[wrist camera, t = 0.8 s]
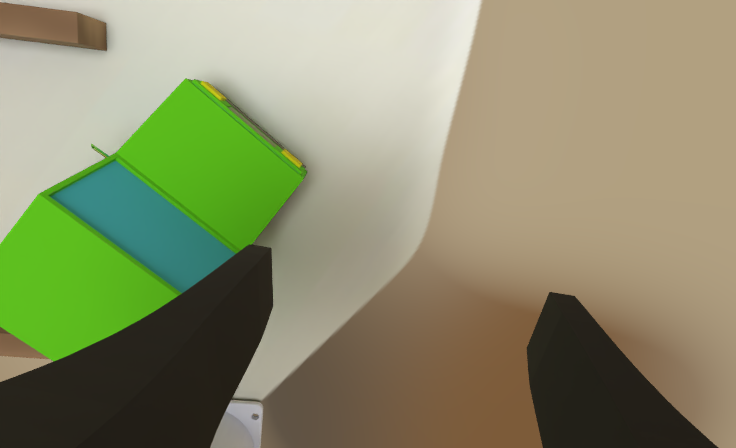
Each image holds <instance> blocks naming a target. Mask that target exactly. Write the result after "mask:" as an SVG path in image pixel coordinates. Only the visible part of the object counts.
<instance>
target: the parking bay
mask: <svg viewBox="0 0 736 448" xmlns="http://www.w3.org/2000/svg"><path fill="white" fill-rule="evenodd" d="M0 38H8V39H16V40H24V41H32V42H40V43H48V44H56V45H64V46H72V47H81V48H89V49H97V50H105V51H107V49H106V23H104V22H101V21H99V20H96V19H93V18H91V17H88V16H85V15H83V14H80V13H78V12H71V11H63V10H55V9H48V8H40V7H32V6H25V5H17V4H9V3H1V2H0ZM0 356H12V357H26V358H40V359H49V358H48V357H46V356H45V355H43V354H41V353H40V352H38V351H37V350H35V349H34V348H32V347H31V346H29V345H28V344H26V343H25V342H23V341H21V340H20V339H18V338H17V337H15V336H14V335H12V334H11V333H9V332H8V331H6V330H5V329H3V328H2V327H0Z"/></svg>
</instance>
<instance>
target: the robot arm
mask: <svg viewBox="0 0 736 448" xmlns="http://www.w3.org/2000/svg"><path fill="white" fill-rule="evenodd" d="M272 308H273V285H272V254H271V248H269V247H263V246H257V245H250V244H249V245H247V246H246V247H245V248H243V249H242V250H240V251H239V252H238V253H236V254H235V255H234V256H232V257H231V258H230V259H228V260H227V261H226V262H224V263H223V264H222V265H220V266H219V267H218V268H216V269H215V270H214V271H213V272H211V273H210V274H208V275H207V276H206V277H204V278H203V279H202V280H200V281H199V282H197V283H196V284H195V285H193V286H192V287H190V288H189V289H188V290H186V291H185V292H183V293H182V294H180V295H179V296H177V297H176V298H174V299H173V300H171V301H170V302H168V303H166V304H165V305H163V306H162V307H160V308H159V309H157V310H156V311H154V312H152V313H151V314H149V315H147V316H146V317H144V318H142V319H140V320H139V321H137V322H135V323H133V324H131V325H129V326H128V327H126V328H124V329H122V330H120V331H118V332H116V333H115V334H113V335H111V336H109V337H107V338H104V339H102V340H100V341H98V342H96V343H94V344H92V345H89V346H87V347H85V348H83V349H81V350H79V351H77V352H75V353H72V354H70V355H68V356H66V357H63V358H61V359H59V360H56V361H54V362H52V363H49V364H47V365H44V366H42V367H39V368H37V369H34V370H32V371H29V372H26V373H24V374H21V375H18V376H16V377H13V378H10V379H8V380H5V381H2V382H0V448H261V436H262V422H263V405H262V404H261V403H260V402H256V401H240V400H231V399H232V397H233V395H234V393H235V391H236V389H237V387H238V385H239V383H240V381H241V379H242V377H243V376H244V374H245V372H246V370H247V368H248V366H249V364H250V362H251V360H252V357H253V355H254V353H255V351H256V349H257V347H258V345H259V343H260V341H261V339H262V336H263V334H264V331H265V328H266V325H267V322H268V319H269V317H270V314H271V311H272ZM527 359H528V372H529V382H530V389H531V394H532V399H533V403H534V408H535V413H536V418H537V422H538V427H539V431H540V436H541V440H542V445H543V448H718V447H717V446H716V445H714V444H713V443H712V442H711V441H710V440H709V439H708V438H707V437H706V436H704V435H703V434H702V433H701V432H700V431H699V430H698V429H697V428H695V426H693V425H692V424H691V423H690V422H689V421H688V420H687V419H686V418H685V417H684V416H683V415H681V414H680V413H679V412H678V411H677V410H676V409H675V408H674V407H673V406H672V405H671V404H670V403H669V402H668V401H667V400H666V399H665V398H664V397H663V396H662V395H661V394H660V393H659V392H658V391H657V389H656V388H655V387H654V386H653V385H652V384H651V383H650V382H649V381H648V380H647V379H646V378H645V377H644V376H643V375H642V374H641V373H640V372H639V370H638V369H637V368H636V367H635V366H634V365H633V364H632V363H631V362H630V361H629V359H628V358H627V357H626V356H625V355H624V354H623V353H622V351H621V350H620V349H619V348H618V347H617V346H616V344H615V343H614V342H613V341H612V340H611V339H610V338H609V336H608V335H607V334H606V333H605V332H604V330H603V329H602V328H601V327H600V326H599V324H598V323H597V322H596V321H595V320H594V318H593V317H592V316H591V315H590V314H589V312H588V311H587V310H586V309H585V308H584V306H583V305H582V304H581V303H580V302H579V301H578V299H577V298H576V297H575V296H571V295H565V294H558V293H552V292H550V293H549V295H548V297H547V300H546V302H545V305H544V307H543V309H542V312H541V315H540V317H539V319H538V322H537V324H536V327H535V329H534V332H533V334H532V337H531V339H530V342H529V344H528V346H527ZM253 414H258V415H259V416H257V417H255V416H253Z"/></svg>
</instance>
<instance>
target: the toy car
mask: <svg viewBox="0 0 736 448" xmlns="http://www.w3.org/2000/svg"><path fill="white" fill-rule="evenodd" d="M91 146H92V148H93V149H94V150H95V151H97V152H98V153H100V154H101V155H103V156H104V157H105V159H103V160H102V161H100V162H98V163H96V164H94V165H92V166H90V167H88V168H86V169H85V170H83V171H81V172H79V173H77V174H75V175H73V176H71V177H70V178H68V179H66V180H64V181H62V182H60V183H58V184H56V185H54V186H53V187H51V188H49V189H47V190H45V191H43V192H41V193H39V194H38V195H37V197H36V198H35V199H34V201H33V202H32V203H31V205H30V206H29V207H28V209H27V210H26V211H25V212H24V214H23V215H22V216H21V218H20V219H19V220H18V222H17V223H16V224H15V226H14V227H13V228H12V229H11V231H10V232H9V233H8V235H7V236H6V237H5V239H4V240H3V241H2V243H1V244H0V327H2V328H3V329H5V330H6V331H8V332H9V333H11V334H12V335H14V336H15V337H17V338H18V339H20V340H21V341H23V342H25V343H26V344H28V345H29V346H31V347H32V348H34V349H35V350H37V351H38V352H40V353H41V354H43V355H45V356H46V357H48V358H49V359H51V360H53V361H56V360H59V359H61V358H63V357H66V356H68V355H70V354H72V353H75V352H77V351H79V350H81V349H83V348H85V347H87V346H89V345H92V344H94V343H96V342H98V341H100V340H102V339H104V338H107V337H109V336H111V335H113V334H115V333H116V332H118V331H120V330H122V329H124V328H126V327H128V326H129V325H131V324H133V323H135V322H137V321H139V320H140V319H142V318H144V317H146V316H147V315H149V314H151V313H152V312H154V311H156V310H157V309H159V308H160V307H162V306H163V305H165V304H166V303H168V302H170V301H171V300H173V299H174V298H176V297H177V296H179V295H180V294H182V293H183V292H185V291H186V290H188V289H189V288H190V287H192V286H193V285H195V284H196V283H197V282H199V281H200V280H202V279H203V278H204V277H206V276H207V275H208V274H210V273H211V272H213V271H214V270H215V269H216V268H218V267H219V266H220V265H222V264H223V263H224V262H226V261H227V260H228V259H230V258H231V257H232V256H234V255H235V254H236V253H238V252H239V251H240V250H242V249H243V248H245V247H246V246H247V245H249V244H250V245H252V244H253V242H254V241H255V240H256V239H257V237H258V236H259V235H260V233H261V232H262V231H263V230H264V228H265V227H266V226H267V225H268V223H269V222H270V221H271V220H272V218H273V217H274V216H275V215H276V213H277V212H278V211H279V209H280V208H281V207H282V206H283V204H284V203H285V202H286V201H287V199H288V198H289V197H290V196H291V194H292V193H293V192H294V191H295V189H296V188H297V187H298V185H299V184H300V183H301V182H302V180H303V179H304V177H305V175H306V173H307V171H306V170H305V167H306V166H304V165H303V164H302V163H301V162H300V161H299V160H298V159H297V158H295V157H294V156H293V155H292V154H291V153H290V152H288V151H287V150H286V149H285V148H283V147H282V146H281V145H280V144H279V143H278V142H276V141H275V140H274V139H273V138H272V137H271V136H269V135H268V134H267V133H266V132H265V131H264V130H262V129H261V128H260V127H259V126H258V125H257V124H255V123H254V122H253V121H252V120H251V119H250V118H248V117H247V116H246V115H245V114H244V113H243V112H241V111H240V110H239V109H238V108H237V107H236V106H235V105H233V104H232V103H231V102H230V101H229V100H228V99H227V98H226V97H224V96H223V95H222V94H221V93H220V92H219V91H217V90H216V89H215V88H214V87H213V86H212V85H210V84H209V83H208V82H204V81H199V80H195V79H194V80H190V79H185V80H184V81H183V82H182V83H181V84H180V85H179V86H178V87H177V88H176V89H175V90H174V91H173V92H172V94H171V95H170V96H169V97H168V98H167V99H166V100H165V101H164V102H163V103H162V104H161V105H160V106H159V107H158V108H157V110H156V111H155V112H154V113H153V114H152V115H151V116H150V117H149V118H148V119H147V120H146V121H145V122H144V123H143V125H142V126H141V127H140V128H139V129H138V130H137V131H136V132H135V133H134V134H133V135H132V136H131V137H130V138H129V140H128V141H127V142H126V143H125V144H124V145H123V146H122V147H121V148H120V149H119V150H118V151H117V152H116V153H115V154H113V155H111V156H108V155H107V154H105V153H104V152H103V151H101V150H100V149H98V148H97V147H95V146H94V145H93V144H91Z"/></svg>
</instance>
